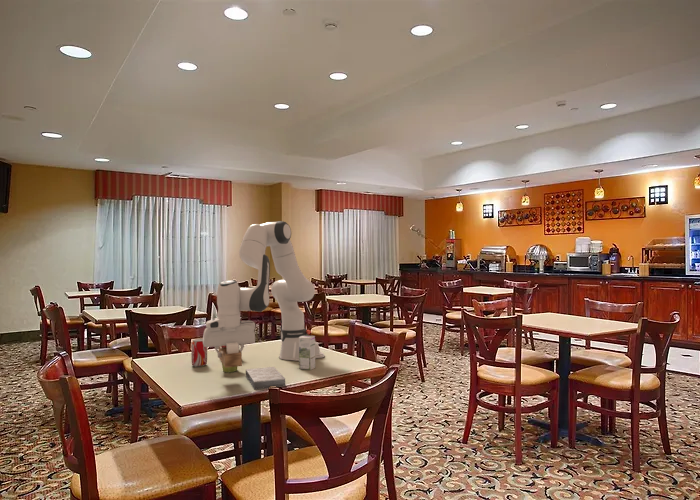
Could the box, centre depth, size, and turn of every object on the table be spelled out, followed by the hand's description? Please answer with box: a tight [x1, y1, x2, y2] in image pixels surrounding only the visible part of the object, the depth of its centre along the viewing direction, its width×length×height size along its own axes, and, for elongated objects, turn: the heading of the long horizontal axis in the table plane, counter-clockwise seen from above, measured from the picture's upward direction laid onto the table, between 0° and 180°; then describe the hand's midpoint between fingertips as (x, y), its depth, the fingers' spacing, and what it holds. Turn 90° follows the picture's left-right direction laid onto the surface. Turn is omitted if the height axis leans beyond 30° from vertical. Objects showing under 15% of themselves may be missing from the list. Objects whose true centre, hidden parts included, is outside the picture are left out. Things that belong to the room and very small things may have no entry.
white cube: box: [226, 343, 240, 354], centre depth 188 cm, size 4×4×4 cm
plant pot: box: [221, 362, 239, 373], centre depth 215 cm, size 9×9×9 cm
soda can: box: [190, 338, 208, 368], centre depth 227 cm, size 7×7×12 cm
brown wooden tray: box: [218, 346, 243, 368], centre depth 193 cm, size 6×20×5 cm, turn 22°
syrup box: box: [298, 335, 316, 371], centre depth 218 cm, size 6×6×14 cm
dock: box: [245, 366, 286, 390], centre depth 197 cm, size 12×22×3 cm, turn 20°
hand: (229, 356), depth 193 cm, fingers closed on brown wooden tray, 6 cm apart
